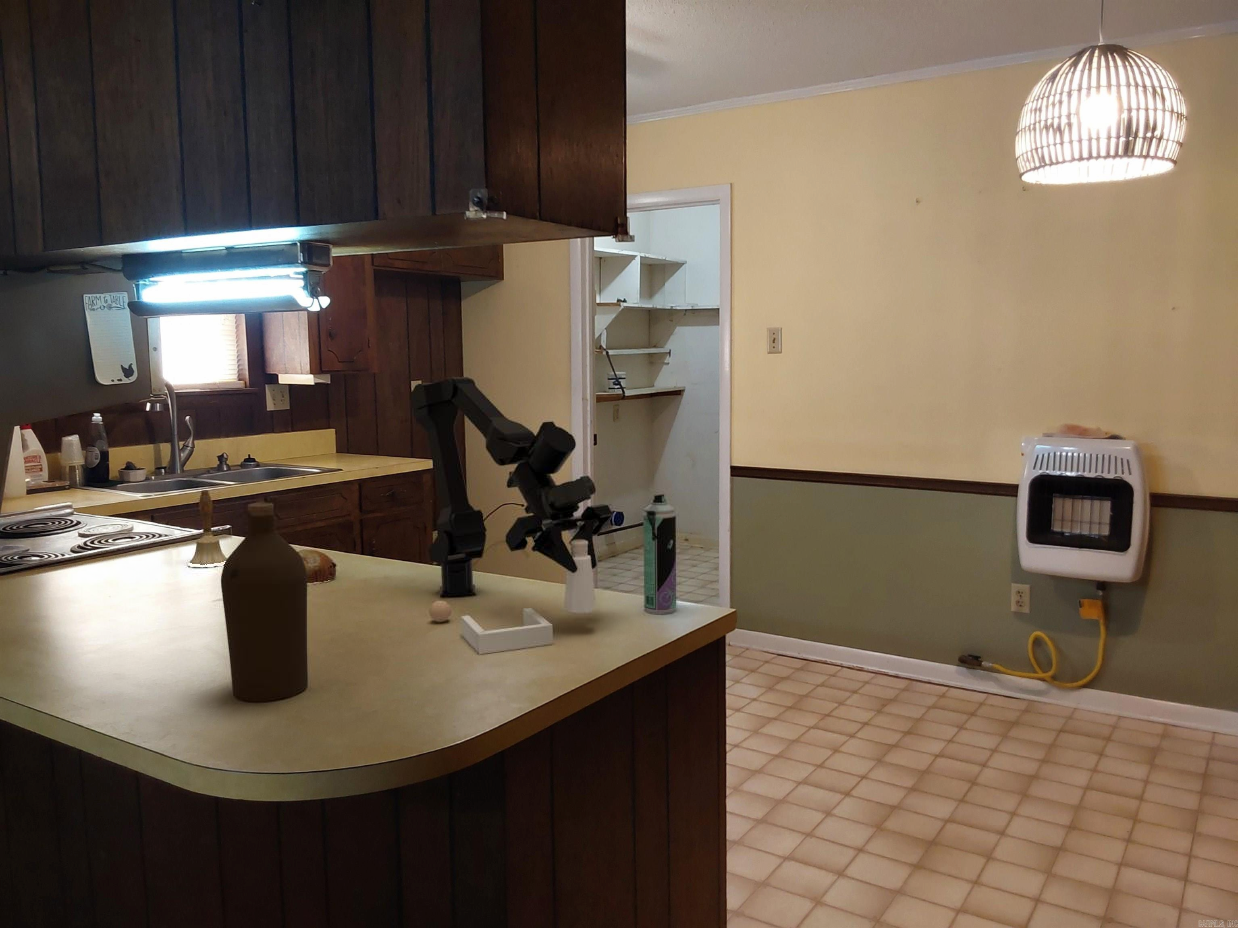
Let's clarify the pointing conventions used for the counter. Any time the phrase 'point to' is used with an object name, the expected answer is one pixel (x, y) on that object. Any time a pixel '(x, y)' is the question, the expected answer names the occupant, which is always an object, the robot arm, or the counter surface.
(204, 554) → the wooden handled brush
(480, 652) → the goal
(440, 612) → the ball
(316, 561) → the bread roll
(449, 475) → the robot arm
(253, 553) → the dark brown bottle
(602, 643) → the counter surface
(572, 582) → the pepper shaker
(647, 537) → the spray can
